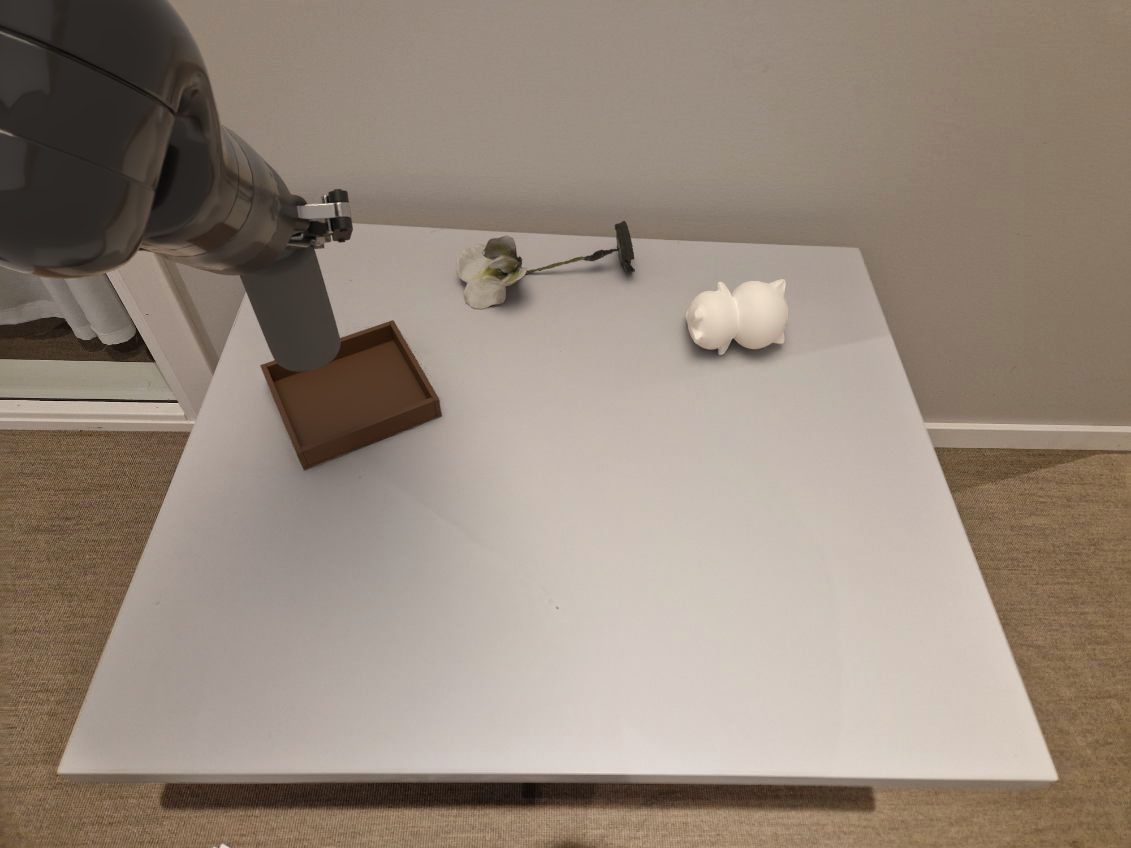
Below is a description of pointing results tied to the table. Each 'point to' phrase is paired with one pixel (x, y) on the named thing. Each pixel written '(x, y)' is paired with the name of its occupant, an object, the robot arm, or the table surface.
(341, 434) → the tray
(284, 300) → the bottle
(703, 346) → the cat figurine
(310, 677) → the table surface
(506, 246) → the artificial flower
